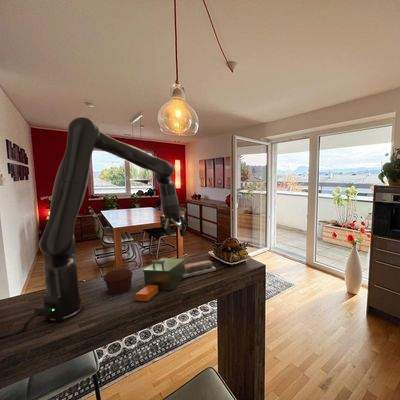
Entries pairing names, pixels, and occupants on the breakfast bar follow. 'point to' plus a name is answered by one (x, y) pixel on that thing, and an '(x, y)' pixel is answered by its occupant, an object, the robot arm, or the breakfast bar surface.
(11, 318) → the breakfast bar surface
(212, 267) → the packaged product
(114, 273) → the muffin
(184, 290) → the breakfast bar surface
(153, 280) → the green box
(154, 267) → the lid
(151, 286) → the block
